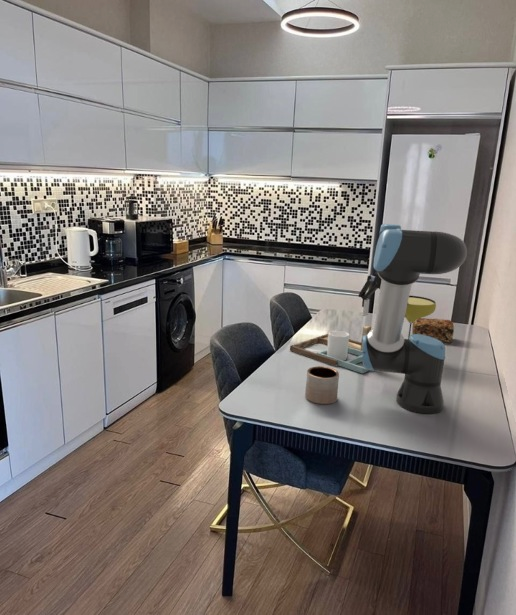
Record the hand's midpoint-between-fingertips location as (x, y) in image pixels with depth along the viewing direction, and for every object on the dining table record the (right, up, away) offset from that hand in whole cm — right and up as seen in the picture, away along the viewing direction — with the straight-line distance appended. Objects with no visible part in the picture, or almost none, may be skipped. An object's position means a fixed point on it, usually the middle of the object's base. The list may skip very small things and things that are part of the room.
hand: (380, 319), depth 186 cm
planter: (-26, -27, -23) cm, 44 cm away
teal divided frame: (-9, -18, +13) cm, 24 cm away
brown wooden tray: (-15, -15, +24) cm, 32 cm away
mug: (-13, -17, +17) cm, 28 cm away
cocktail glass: (+17, -17, +23) cm, 33 cm away
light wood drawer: (-8, -13, +31) cm, 34 cm away
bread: (+37, -11, +48) cm, 62 cm away
